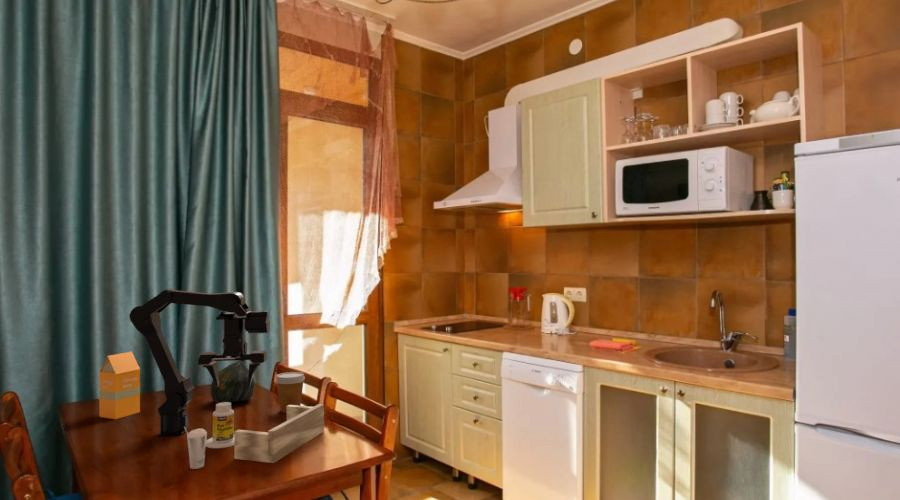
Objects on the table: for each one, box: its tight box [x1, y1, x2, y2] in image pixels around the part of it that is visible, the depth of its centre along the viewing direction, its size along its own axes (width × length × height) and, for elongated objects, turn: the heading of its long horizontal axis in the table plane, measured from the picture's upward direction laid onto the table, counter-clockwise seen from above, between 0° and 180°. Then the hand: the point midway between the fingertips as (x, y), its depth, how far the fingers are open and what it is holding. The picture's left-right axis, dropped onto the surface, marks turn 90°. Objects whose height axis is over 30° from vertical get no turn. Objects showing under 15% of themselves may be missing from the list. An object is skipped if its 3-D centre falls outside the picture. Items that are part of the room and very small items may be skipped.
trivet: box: [205, 436, 234, 449], centre depth 154 cm, size 10×10×1 cm
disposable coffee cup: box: [275, 371, 306, 414], centre depth 184 cm, size 10×10×12 cm
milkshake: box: [184, 427, 208, 470], centre depth 136 cm, size 4×5×10 cm
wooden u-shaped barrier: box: [233, 403, 325, 464], centre depth 152 cm, size 12×26×8 cm, turn 164°
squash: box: [210, 360, 256, 404], centre depth 196 cm, size 14×15×15 cm
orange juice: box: [98, 351, 141, 420], centre depth 181 cm, size 8×9×20 cm
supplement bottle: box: [212, 402, 235, 443], centre depth 154 cm, size 6×6×10 cm
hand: (233, 386), depth 165 cm, fingers open, 9 cm apart
